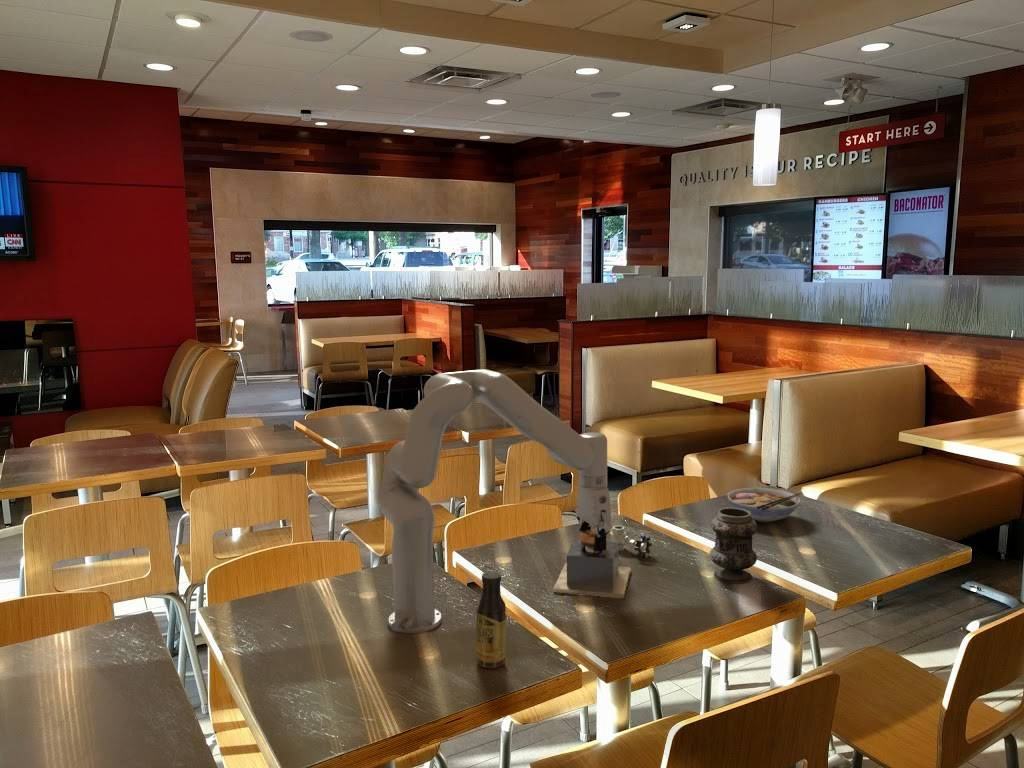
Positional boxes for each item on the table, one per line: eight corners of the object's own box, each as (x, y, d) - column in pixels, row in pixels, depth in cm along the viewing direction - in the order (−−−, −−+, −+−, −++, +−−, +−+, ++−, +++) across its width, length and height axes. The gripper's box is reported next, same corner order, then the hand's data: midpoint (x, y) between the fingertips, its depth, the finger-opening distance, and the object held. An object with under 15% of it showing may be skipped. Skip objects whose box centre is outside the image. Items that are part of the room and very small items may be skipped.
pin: (604, 573, 203) (604, 538, 201) (577, 571, 204) (577, 536, 203) (607, 563, 209) (607, 529, 208) (581, 561, 211) (581, 527, 210)
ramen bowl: (754, 503, 272) (754, 480, 271) (815, 519, 255) (816, 494, 254) (710, 519, 257) (710, 495, 255) (772, 536, 239) (773, 510, 238)
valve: (605, 549, 231) (637, 560, 222) (605, 528, 230) (637, 538, 221) (620, 544, 235) (652, 555, 226) (620, 523, 234) (652, 533, 225)
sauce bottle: (470, 663, 166) (467, 574, 163) (491, 652, 170) (489, 565, 167) (491, 674, 161) (489, 582, 159) (513, 663, 166) (511, 573, 163)
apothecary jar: (759, 571, 212) (761, 507, 210) (752, 588, 201) (754, 521, 199) (714, 565, 217) (715, 502, 215) (705, 581, 206) (706, 515, 204)
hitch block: (623, 598, 197) (623, 563, 195) (553, 592, 201) (552, 558, 200) (630, 571, 214) (630, 539, 213) (565, 566, 218) (565, 535, 217)
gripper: (623, 486, 197) (623, 554, 200) (587, 471, 213) (587, 534, 215) (598, 490, 194) (598, 559, 197) (563, 474, 209) (563, 538, 212)
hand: (592, 545), depth 206 cm, fingers closed on pin, 6 cm apart
